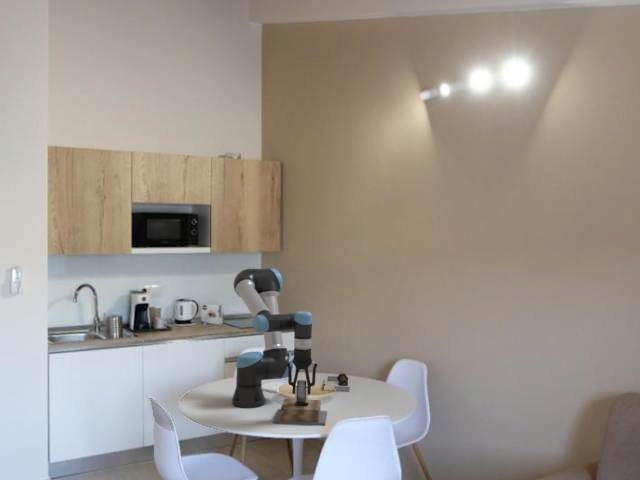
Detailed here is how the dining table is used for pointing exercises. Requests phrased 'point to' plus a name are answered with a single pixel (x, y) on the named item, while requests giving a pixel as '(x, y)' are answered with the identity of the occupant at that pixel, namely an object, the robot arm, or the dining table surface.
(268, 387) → the calculator
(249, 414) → the dining table surface
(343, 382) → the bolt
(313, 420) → the socket
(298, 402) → the peg
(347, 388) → the parts tray
